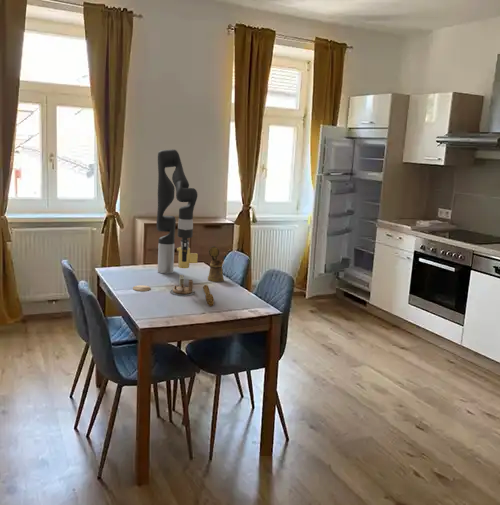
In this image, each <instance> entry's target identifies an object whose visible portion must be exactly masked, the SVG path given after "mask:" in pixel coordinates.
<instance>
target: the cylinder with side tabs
mask: <svg viewBox="0 0 500 505" xmlns="http://www.w3.org/2000/svg"><path fill="white" fill-rule="evenodd" d="M182 248H183V247H182ZM176 251H177V252H178V262H177V263H178V264H177V266H178V268H179V269H189V268H190V264H198V255H199V253H196V252H194V253H193V252H191V248H190V247H189V246H188V250H187V260H186V262H182V250H181V246H179V247H177V248H176ZM183 252H186V250H183Z"/></svg>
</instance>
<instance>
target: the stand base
mask: <svg viewBox="0 0 500 505" xmlns="http://www.w3.org/2000/svg"><path fill="white" fill-rule="evenodd" d="M169 294H171V295H173V296H179V297H190V296H193V295H195V294H196V291H195V290H193V291H192V293H189V294H178V293H174V292H173V289H171V290H169Z"/></svg>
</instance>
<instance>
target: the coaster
mask: <svg viewBox="0 0 500 505" xmlns="http://www.w3.org/2000/svg"><path fill="white" fill-rule="evenodd" d="M151 288H152V287H150V286H149V285H146V284H145V285H143V284H141V285H135V286H133V287H132V290H133V291H137V292H147V291H150V290H151Z"/></svg>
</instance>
